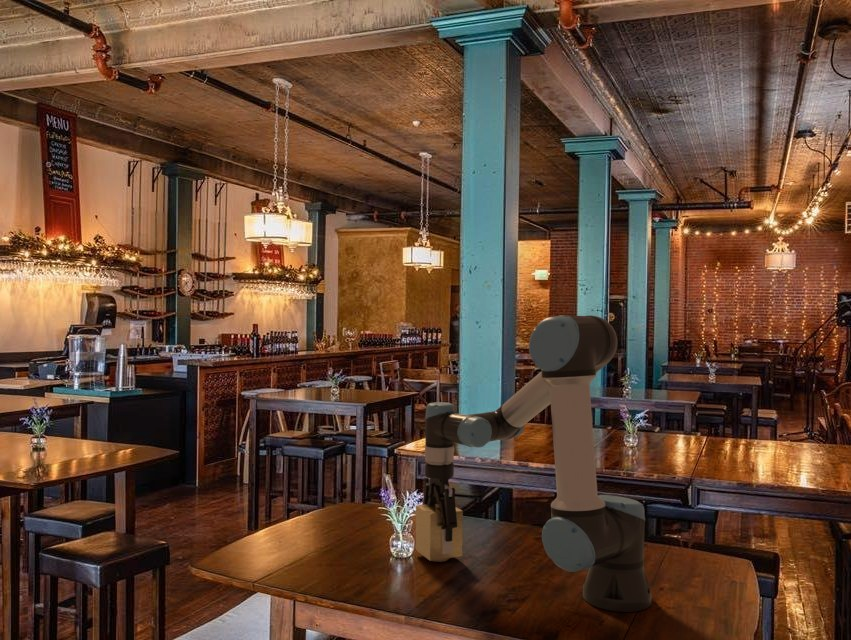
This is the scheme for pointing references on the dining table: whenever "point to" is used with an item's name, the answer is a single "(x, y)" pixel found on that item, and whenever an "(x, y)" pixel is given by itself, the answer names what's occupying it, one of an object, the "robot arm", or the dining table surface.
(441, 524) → the tan box with knob
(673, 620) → the dining table surface
